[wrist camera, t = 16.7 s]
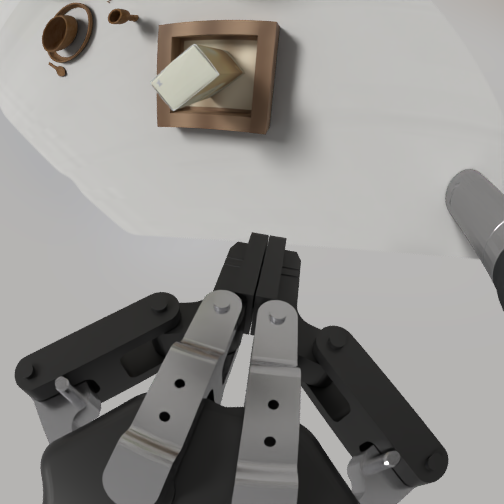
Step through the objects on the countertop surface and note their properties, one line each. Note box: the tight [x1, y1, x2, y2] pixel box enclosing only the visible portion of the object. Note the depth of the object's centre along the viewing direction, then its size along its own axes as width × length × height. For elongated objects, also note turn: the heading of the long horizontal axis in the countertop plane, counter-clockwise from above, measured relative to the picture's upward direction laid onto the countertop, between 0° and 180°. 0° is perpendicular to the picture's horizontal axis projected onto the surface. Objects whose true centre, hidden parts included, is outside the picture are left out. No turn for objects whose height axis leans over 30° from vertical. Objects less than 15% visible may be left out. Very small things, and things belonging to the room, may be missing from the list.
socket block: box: [157, 20, 280, 134], centre depth 30 cm, size 15×15×4 cm
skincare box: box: [150, 44, 245, 111], centre depth 26 cm, size 6×4×12 cm, turn 125°
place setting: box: [42, 0, 138, 76], centre depth 27 cm, size 18×20×6 cm
